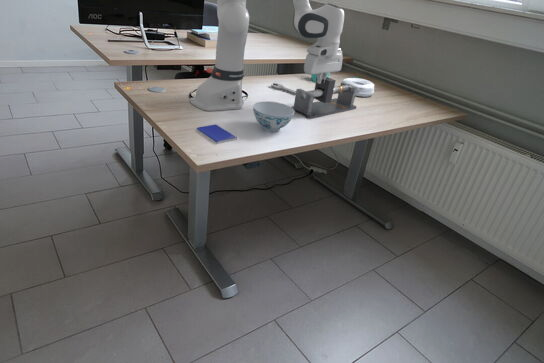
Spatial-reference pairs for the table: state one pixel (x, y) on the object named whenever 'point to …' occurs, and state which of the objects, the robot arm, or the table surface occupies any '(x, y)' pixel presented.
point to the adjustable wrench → (283, 88)
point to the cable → (361, 86)
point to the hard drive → (216, 134)
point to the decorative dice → (316, 77)
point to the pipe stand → (319, 109)
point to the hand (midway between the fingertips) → (320, 83)
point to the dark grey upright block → (328, 87)
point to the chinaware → (272, 115)
